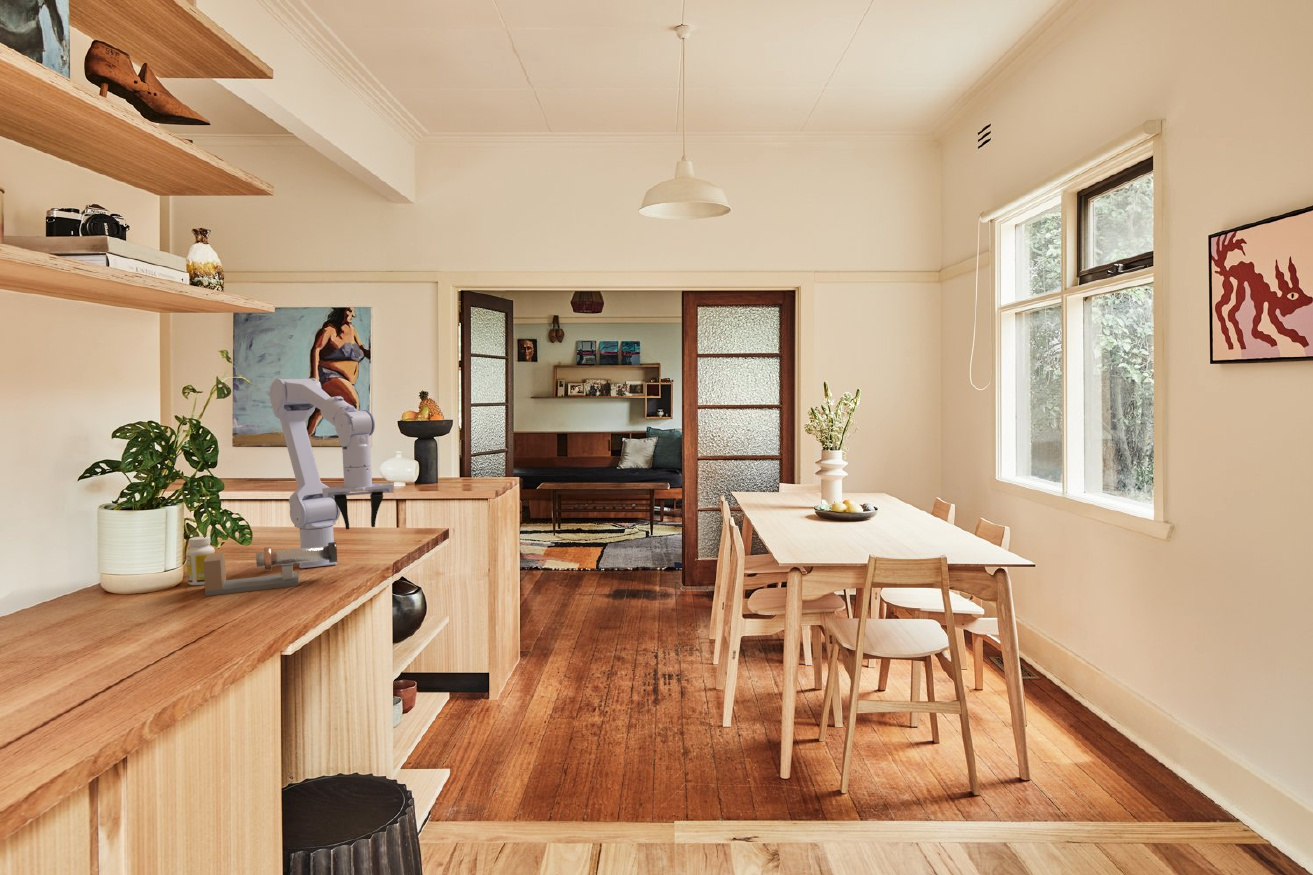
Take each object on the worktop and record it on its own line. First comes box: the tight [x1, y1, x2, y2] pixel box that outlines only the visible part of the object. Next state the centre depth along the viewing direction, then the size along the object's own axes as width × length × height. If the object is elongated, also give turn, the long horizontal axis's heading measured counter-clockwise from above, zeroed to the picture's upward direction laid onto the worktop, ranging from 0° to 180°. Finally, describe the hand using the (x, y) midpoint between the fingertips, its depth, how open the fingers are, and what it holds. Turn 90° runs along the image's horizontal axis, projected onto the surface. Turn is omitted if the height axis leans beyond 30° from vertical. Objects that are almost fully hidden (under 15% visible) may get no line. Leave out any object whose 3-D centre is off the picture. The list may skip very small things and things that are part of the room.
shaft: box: [255, 541, 338, 572], centre depth 169 cm, size 5×16×5 cm, turn 113°
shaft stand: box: [203, 552, 300, 597], centre depth 166 cm, size 8×17×7 cm, turn 113°
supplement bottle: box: [185, 535, 216, 586], centre depth 170 cm, size 5×5×10 cm
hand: (360, 527), depth 174 cm, fingers open, 5 cm apart
